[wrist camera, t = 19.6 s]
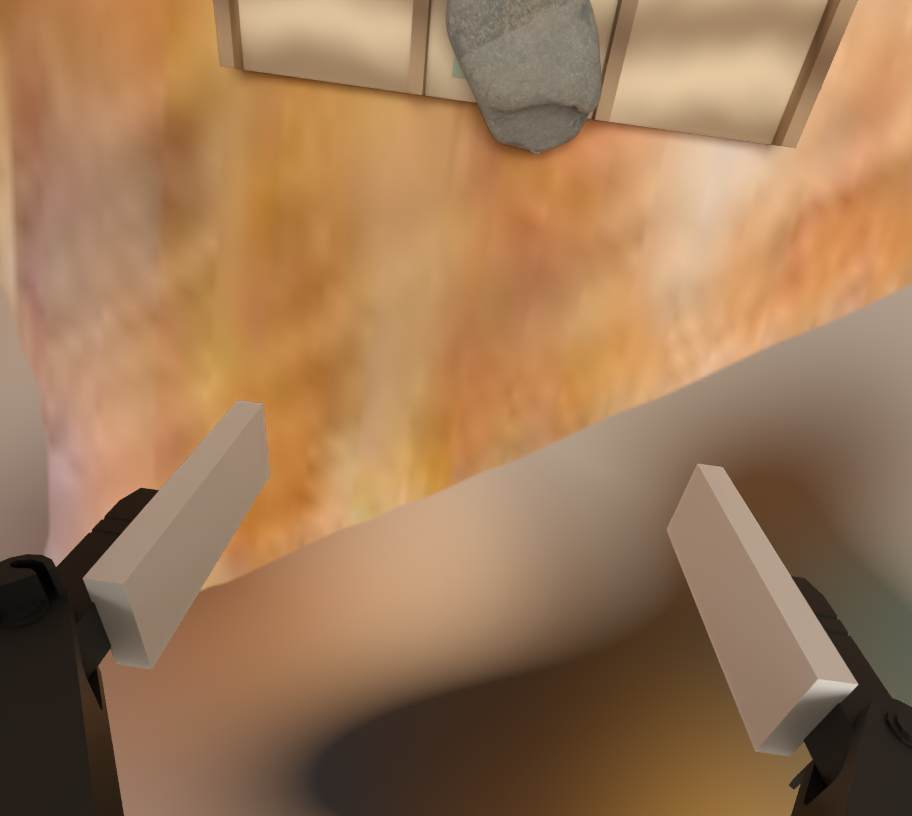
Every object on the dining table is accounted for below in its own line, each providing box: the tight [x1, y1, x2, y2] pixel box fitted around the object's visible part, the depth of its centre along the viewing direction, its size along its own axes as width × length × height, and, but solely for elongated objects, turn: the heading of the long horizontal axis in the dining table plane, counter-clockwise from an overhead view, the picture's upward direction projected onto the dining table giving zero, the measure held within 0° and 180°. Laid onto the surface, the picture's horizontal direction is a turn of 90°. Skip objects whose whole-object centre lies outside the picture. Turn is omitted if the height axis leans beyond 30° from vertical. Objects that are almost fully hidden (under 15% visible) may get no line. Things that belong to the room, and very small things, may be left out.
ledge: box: [213, 0, 858, 148], centre depth 33 cm, size 11×40×4 cm, turn 83°
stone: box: [446, 0, 602, 154], centre depth 32 cm, size 9×9×10 cm
